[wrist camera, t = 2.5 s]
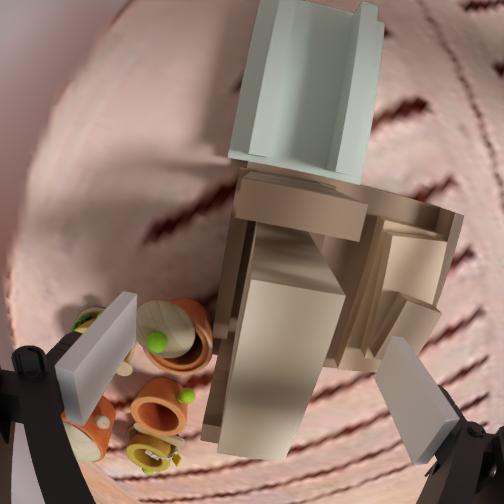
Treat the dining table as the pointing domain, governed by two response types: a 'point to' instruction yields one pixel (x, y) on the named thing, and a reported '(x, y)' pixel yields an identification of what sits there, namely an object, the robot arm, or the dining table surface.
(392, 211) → the rack
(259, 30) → the stand
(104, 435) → the toy tea set
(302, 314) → the birch block
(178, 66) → the dining table surface
